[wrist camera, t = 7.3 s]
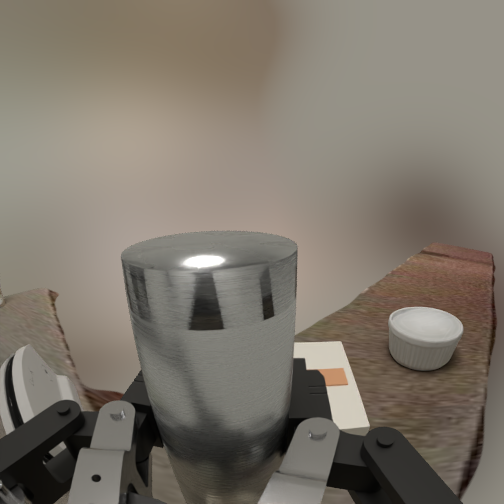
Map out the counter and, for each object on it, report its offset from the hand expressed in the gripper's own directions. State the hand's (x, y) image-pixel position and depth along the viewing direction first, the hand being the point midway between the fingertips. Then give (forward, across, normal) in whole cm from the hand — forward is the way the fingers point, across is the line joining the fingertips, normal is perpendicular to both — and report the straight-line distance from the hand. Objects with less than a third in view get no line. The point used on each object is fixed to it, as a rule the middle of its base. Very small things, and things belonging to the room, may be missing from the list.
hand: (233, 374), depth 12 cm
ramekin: (+23, -22, +15) cm, 35 cm away
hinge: (+5, +20, +15) cm, 26 cm away
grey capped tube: (-3, 0, +8) cm, 8 cm away
